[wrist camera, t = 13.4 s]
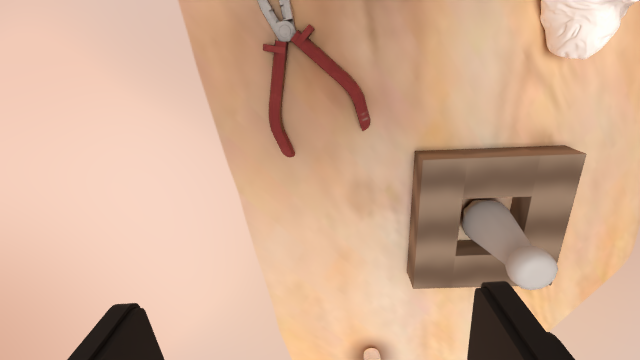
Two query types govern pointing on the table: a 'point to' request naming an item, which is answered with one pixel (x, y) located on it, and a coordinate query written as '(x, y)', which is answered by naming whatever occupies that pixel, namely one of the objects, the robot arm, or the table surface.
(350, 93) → the pliers
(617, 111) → the table surface
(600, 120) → the table surface
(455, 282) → the walnut stand
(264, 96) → the table surface
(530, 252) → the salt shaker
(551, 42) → the bust
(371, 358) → the lightbulb
